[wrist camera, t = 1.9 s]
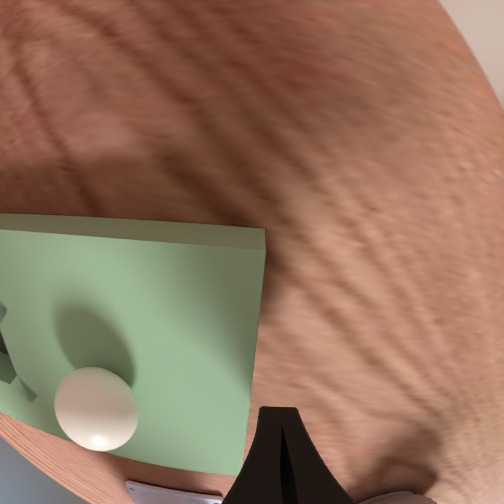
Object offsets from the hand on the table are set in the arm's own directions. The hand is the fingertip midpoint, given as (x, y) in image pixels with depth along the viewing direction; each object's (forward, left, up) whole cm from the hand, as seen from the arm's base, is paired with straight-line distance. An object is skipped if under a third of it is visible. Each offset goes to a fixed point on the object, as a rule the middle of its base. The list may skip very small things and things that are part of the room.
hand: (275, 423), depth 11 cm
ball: (0, +7, +1) cm, 7 cm away
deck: (0, +11, -4) cm, 12 cm away
